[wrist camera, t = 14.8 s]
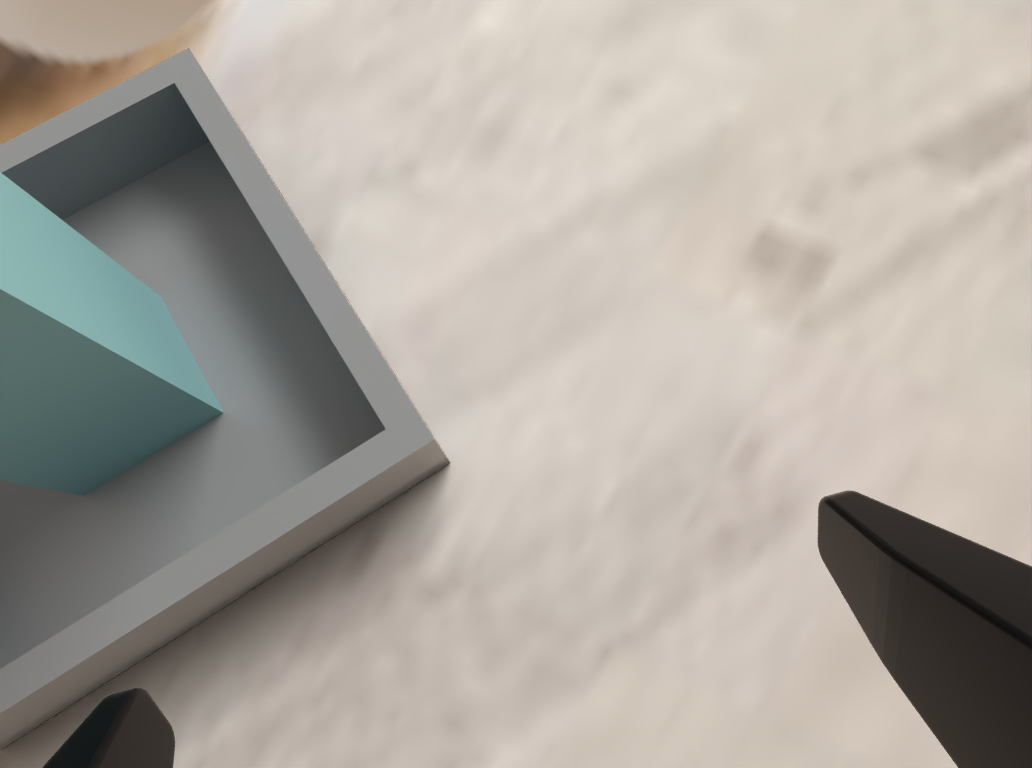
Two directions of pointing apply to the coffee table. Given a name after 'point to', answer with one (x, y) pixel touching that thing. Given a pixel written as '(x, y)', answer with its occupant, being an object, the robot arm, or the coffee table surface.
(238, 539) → the grey crate
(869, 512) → the robot arm
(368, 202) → the coffee table surface
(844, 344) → the coffee table surface
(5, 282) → the teal square pillar
